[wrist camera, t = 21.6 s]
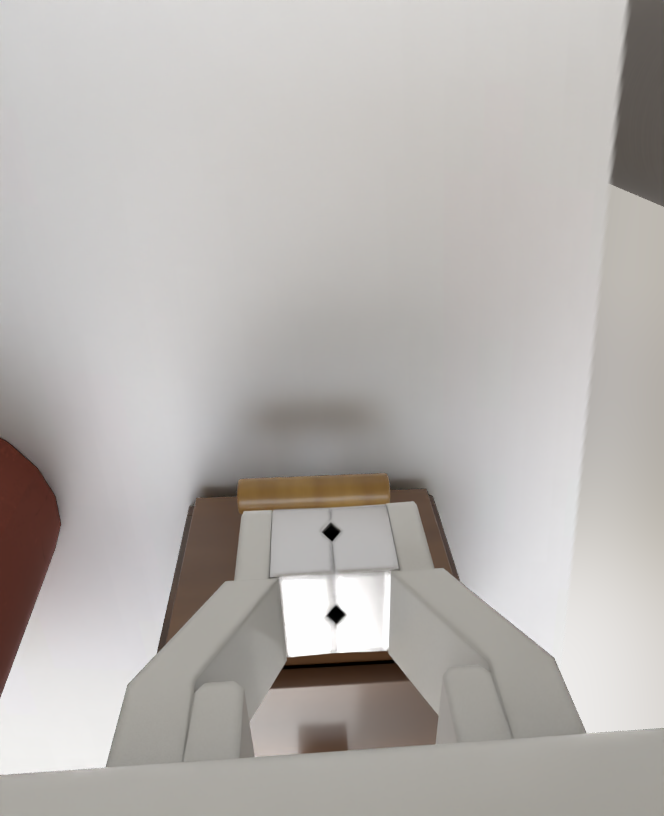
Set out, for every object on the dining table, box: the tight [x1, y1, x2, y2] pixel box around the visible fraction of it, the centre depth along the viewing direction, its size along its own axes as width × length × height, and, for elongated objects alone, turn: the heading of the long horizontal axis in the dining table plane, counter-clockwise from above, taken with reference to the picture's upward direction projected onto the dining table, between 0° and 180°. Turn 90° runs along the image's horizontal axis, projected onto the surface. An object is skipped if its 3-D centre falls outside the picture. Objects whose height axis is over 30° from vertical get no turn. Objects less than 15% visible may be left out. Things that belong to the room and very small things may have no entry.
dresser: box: [157, 496, 460, 757], centre depth 30 cm, size 15×13×11 cm
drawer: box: [165, 473, 454, 669], centre depth 28 cm, size 18×11×9 cm, turn 0°
